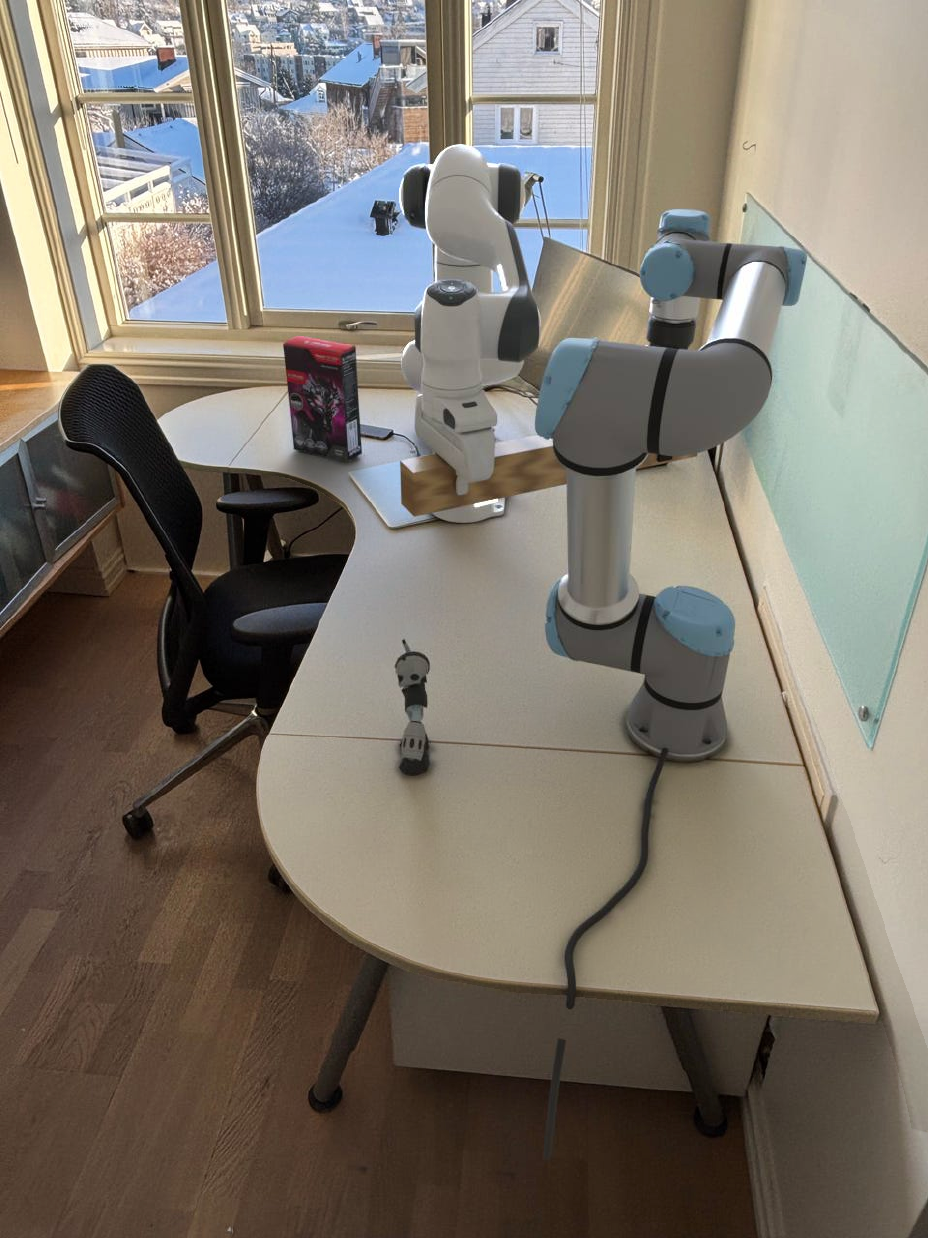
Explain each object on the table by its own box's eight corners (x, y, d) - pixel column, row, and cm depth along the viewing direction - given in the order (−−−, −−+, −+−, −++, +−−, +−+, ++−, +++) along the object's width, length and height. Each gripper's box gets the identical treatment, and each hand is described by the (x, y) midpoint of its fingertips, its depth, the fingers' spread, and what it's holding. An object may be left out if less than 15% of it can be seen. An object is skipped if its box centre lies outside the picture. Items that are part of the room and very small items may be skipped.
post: (679, 446, 163) (685, 406, 159) (697, 456, 160) (703, 416, 156) (401, 503, 143) (399, 460, 139) (414, 517, 139) (413, 472, 135)
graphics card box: (291, 450, 230) (280, 341, 215) (307, 440, 235) (297, 333, 220) (348, 464, 224) (341, 353, 209) (364, 454, 229) (358, 344, 214)
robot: (432, 803, 130) (430, 691, 118) (397, 804, 129) (392, 692, 118) (430, 713, 146) (428, 607, 135) (399, 714, 146) (394, 608, 134)
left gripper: (403, 379, 141) (406, 462, 149) (463, 426, 126) (462, 516, 134) (440, 373, 144) (441, 455, 151) (503, 418, 129) (500, 507, 136)
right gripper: (620, 305, 151) (606, 439, 164) (689, 335, 137) (668, 478, 150) (657, 300, 153) (641, 432, 166) (729, 328, 140) (705, 469, 153)
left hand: (451, 484), depth 143 cm, fingers closed on post, 5 cm apart
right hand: (654, 453), depth 158 cm, fingers closed on post, 5 cm apart
